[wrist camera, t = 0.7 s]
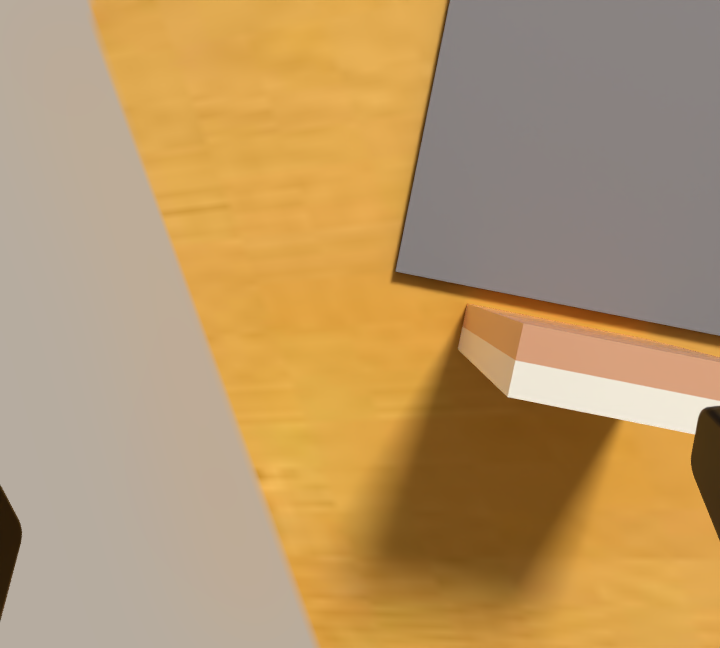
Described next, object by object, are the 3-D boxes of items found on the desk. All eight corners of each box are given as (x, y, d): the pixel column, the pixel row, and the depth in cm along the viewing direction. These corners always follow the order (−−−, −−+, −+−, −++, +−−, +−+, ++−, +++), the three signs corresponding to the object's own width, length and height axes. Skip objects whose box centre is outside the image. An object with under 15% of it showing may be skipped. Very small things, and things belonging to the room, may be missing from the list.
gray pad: (730, 337, 26) (735, 338, 26) (395, 271, 26) (395, 271, 26) (807, 18, 25) (815, 14, 25) (459, -50, 25) (461, -55, 25)
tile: (636, 384, 26) (796, 453, 16) (457, 349, 26) (507, 397, 16) (647, 339, 26) (814, 381, 16) (467, 303, 26) (523, 323, 16)
